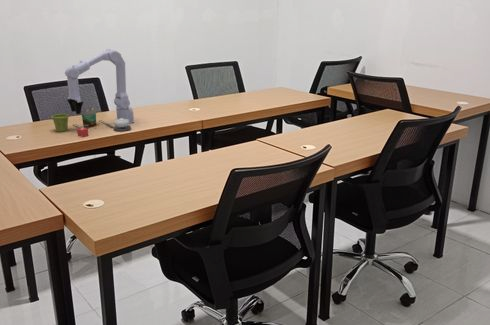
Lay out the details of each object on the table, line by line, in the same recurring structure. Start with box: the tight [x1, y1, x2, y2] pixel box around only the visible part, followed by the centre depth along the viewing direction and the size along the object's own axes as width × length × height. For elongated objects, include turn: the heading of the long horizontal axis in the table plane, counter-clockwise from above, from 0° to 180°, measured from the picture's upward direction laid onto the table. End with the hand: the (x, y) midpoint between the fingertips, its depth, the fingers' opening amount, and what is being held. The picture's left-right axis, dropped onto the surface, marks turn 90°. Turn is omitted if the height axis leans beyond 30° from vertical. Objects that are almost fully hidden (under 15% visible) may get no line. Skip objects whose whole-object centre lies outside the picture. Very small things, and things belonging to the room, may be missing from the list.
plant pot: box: [50, 113, 70, 133], centre depth 283 cm, size 9×9×9 cm
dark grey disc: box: [112, 125, 132, 133], centre depth 287 cm, size 10×10×1 cm
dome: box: [114, 118, 130, 127], centre depth 286 cm, size 8×8×4 cm
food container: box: [80, 106, 98, 128], centre depth 293 cm, size 12×6×10 cm, turn 168°
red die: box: [76, 126, 90, 138], centre depth 273 cm, size 4×4×4 cm
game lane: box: [72, 119, 115, 129], centre depth 293 cm, size 18×20×1 cm
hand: (76, 112), depth 282 cm, fingers open, 7 cm apart
